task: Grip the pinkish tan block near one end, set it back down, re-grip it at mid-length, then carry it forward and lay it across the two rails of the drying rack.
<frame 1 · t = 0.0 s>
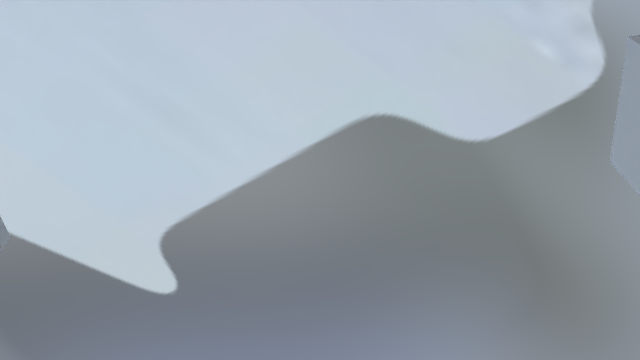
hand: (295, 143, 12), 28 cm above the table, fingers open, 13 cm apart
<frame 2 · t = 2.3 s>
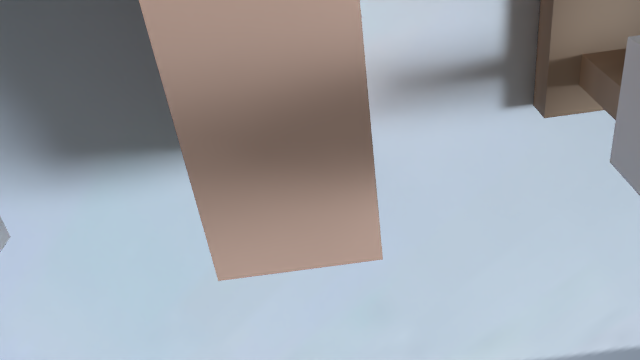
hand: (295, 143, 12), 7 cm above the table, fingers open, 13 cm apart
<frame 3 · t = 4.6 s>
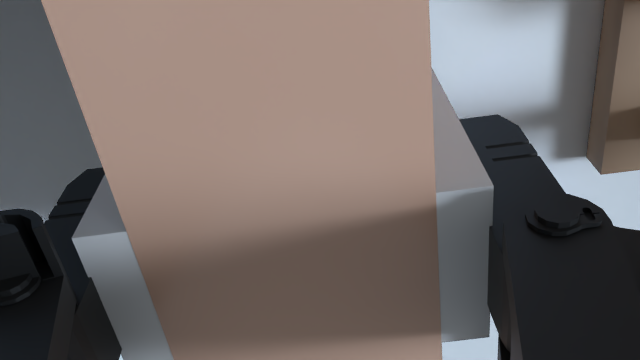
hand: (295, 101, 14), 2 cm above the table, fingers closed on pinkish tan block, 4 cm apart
when the fingers open (0 cm above the table, at t = 6.5 s): pinkish tan block stays where it is, on the table.
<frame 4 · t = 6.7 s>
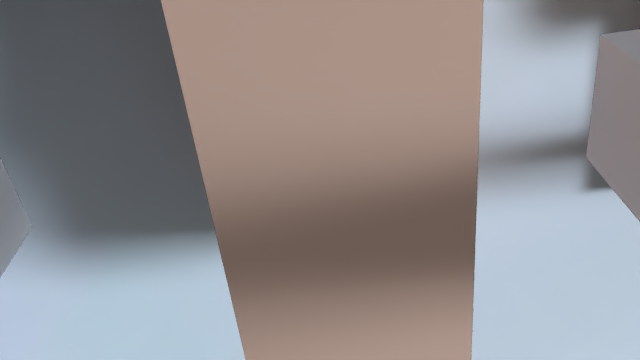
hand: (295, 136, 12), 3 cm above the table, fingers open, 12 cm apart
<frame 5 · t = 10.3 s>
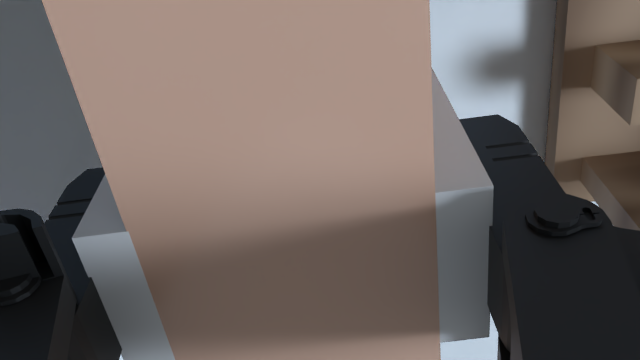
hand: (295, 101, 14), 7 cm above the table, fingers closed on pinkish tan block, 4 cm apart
pinkish tan block: (297, 101, 15), point 7 cm above the table, touching gripper
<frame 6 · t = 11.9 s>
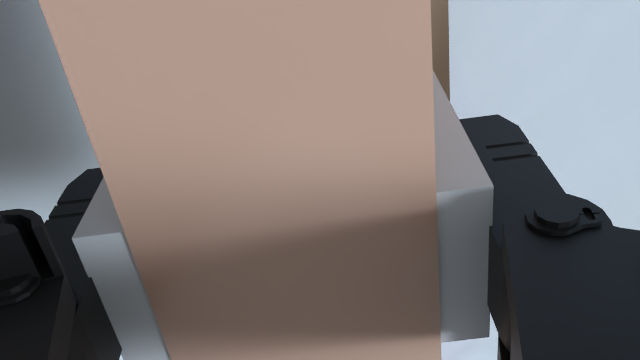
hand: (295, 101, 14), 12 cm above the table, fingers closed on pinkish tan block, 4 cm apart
pinkish tan block: (297, 104, 15), point 12 cm above the table, touching gripper
when the fingers open (4 cm above the table, at t = 13.5 s): pinkish tan block stays where it is, resting on rack.
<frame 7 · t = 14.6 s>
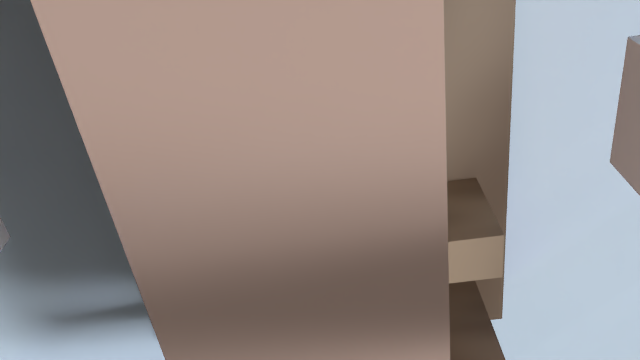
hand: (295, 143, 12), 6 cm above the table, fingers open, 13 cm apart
rack: (295, 42, 17), on the table
pinkish tan block: (300, 110, 14), point 4 cm above the table, touching rack
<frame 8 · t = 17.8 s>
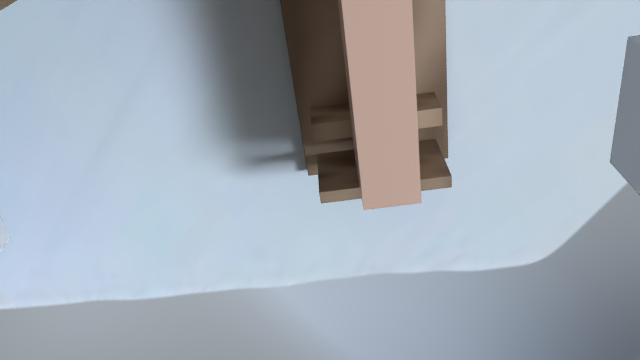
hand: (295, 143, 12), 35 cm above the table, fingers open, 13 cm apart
rack: (365, 38, 47), on the table
pinkish tan block: (372, 60, 44), point 4 cm above the table, touching rack
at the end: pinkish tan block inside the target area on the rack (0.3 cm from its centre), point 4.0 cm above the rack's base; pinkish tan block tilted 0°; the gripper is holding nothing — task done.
